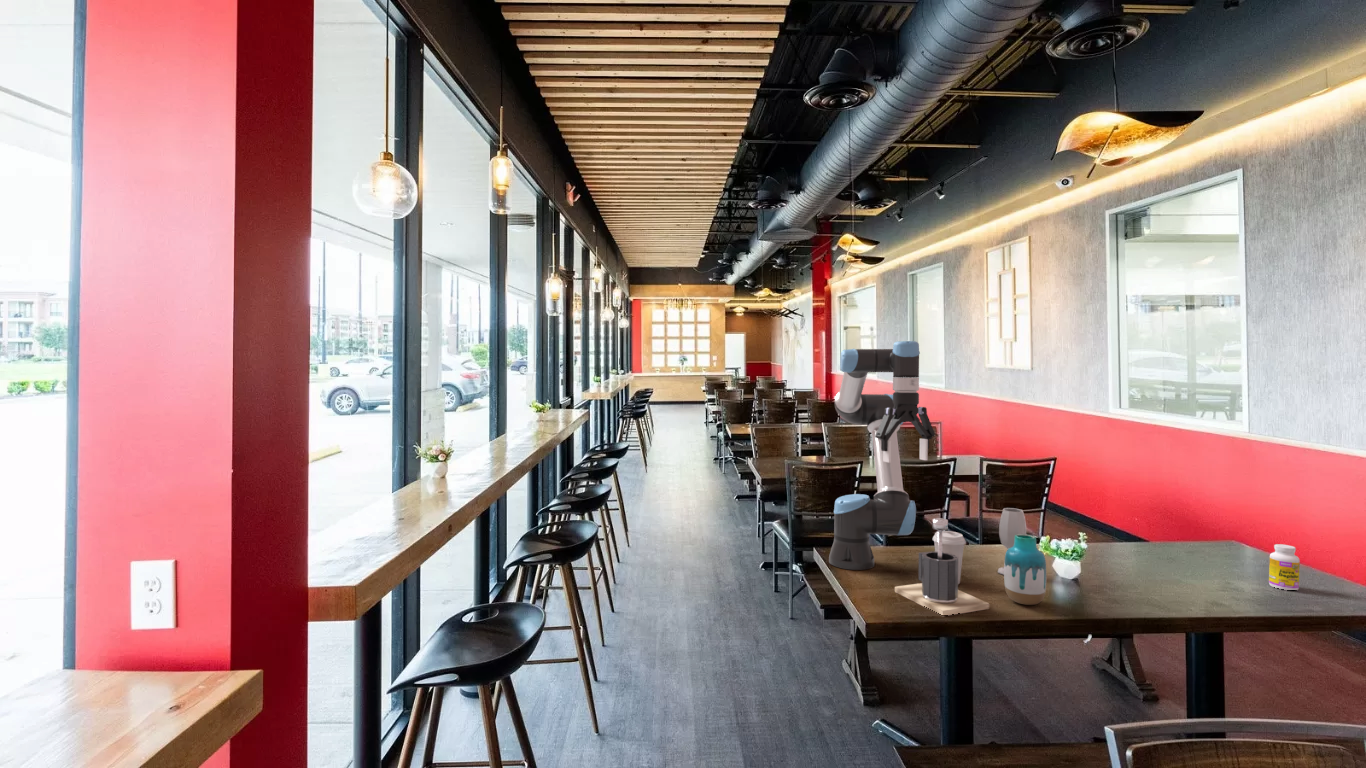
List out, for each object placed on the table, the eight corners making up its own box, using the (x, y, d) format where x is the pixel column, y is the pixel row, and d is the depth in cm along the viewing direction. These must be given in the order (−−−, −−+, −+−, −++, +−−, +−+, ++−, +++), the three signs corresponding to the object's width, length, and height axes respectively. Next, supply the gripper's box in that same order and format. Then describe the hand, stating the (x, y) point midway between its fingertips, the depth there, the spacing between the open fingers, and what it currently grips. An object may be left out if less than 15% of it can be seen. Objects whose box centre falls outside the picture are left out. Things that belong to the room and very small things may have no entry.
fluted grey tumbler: (908, 591, 185) (908, 550, 185) (933, 587, 188) (934, 547, 188) (938, 605, 173) (938, 562, 173) (964, 601, 176) (964, 559, 176)
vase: (1028, 612, 172) (1029, 543, 172) (995, 599, 182) (996, 533, 182) (1054, 606, 177) (1055, 538, 176) (1021, 594, 186) (1021, 530, 186)
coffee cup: (968, 587, 192) (968, 538, 192) (935, 585, 194) (935, 537, 194) (961, 577, 202) (961, 531, 201) (929, 575, 203) (930, 529, 203)
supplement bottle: (1275, 590, 190) (1276, 547, 189) (1264, 583, 196) (1265, 542, 196) (1304, 592, 187) (1305, 550, 187) (1291, 585, 194) (1292, 544, 193)
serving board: (894, 591, 189) (894, 586, 189) (937, 585, 194) (937, 580, 194) (942, 616, 170) (942, 610, 170) (989, 608, 175) (989, 603, 175)
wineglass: (1021, 580, 199) (1021, 514, 199) (992, 573, 206) (993, 509, 205) (1031, 574, 205) (1032, 510, 204) (1003, 567, 211) (1004, 505, 211)
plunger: (923, 590, 181) (924, 518, 181) (940, 587, 183) (941, 516, 183) (938, 597, 175) (939, 523, 175) (955, 594, 177) (956, 521, 177)
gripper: (879, 392, 185) (878, 464, 185) (947, 391, 193) (946, 460, 193) (863, 391, 192) (863, 461, 192) (930, 390, 200) (929, 457, 200)
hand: (905, 461), depth 193 cm, fingers open, 13 cm apart
